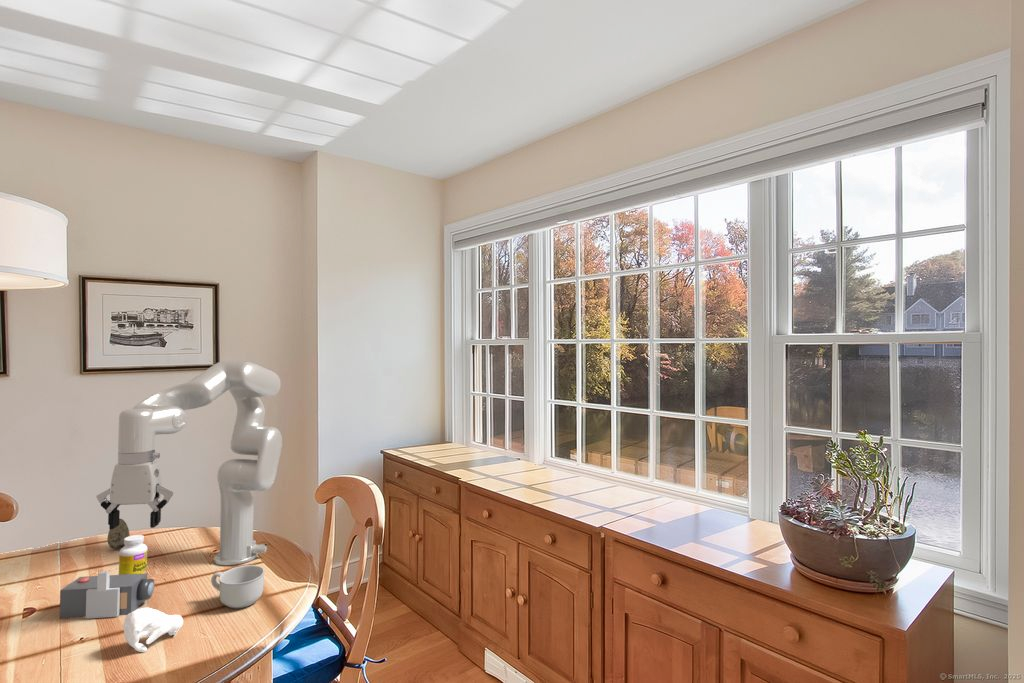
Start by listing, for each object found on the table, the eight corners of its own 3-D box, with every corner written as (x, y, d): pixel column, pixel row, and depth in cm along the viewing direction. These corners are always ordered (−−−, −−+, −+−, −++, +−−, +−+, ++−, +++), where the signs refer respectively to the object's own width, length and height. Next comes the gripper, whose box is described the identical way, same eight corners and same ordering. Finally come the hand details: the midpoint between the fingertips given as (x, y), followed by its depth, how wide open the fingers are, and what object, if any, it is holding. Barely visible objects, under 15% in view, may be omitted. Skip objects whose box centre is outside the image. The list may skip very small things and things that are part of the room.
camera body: (156, 599, 145) (157, 570, 145) (141, 613, 137) (142, 583, 137) (79, 603, 142) (80, 574, 142) (59, 618, 134) (60, 587, 134)
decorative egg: (131, 548, 181) (132, 518, 181) (109, 553, 176) (110, 522, 176) (126, 544, 184) (127, 514, 185) (105, 549, 180) (105, 518, 180)
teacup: (272, 597, 147) (273, 568, 147) (240, 616, 136) (241, 584, 136) (233, 589, 151) (233, 561, 151) (199, 607, 141) (199, 576, 141)
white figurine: (121, 608, 121) (179, 594, 131) (116, 648, 121) (174, 631, 130) (132, 617, 118) (191, 602, 127) (127, 658, 117) (186, 640, 127)
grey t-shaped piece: (119, 614, 136) (120, 570, 136) (116, 617, 135) (117, 572, 135) (88, 616, 135) (89, 571, 135) (85, 619, 133) (86, 574, 134)
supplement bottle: (132, 588, 151) (133, 542, 151) (112, 586, 152) (113, 540, 152) (152, 579, 157) (153, 534, 158) (133, 576, 159) (134, 532, 159)
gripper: (180, 454, 142) (178, 520, 141) (106, 455, 139) (104, 523, 139) (166, 460, 134) (165, 530, 134) (88, 461, 131) (87, 533, 131)
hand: (134, 526), depth 136 cm, fingers open, 8 cm apart
